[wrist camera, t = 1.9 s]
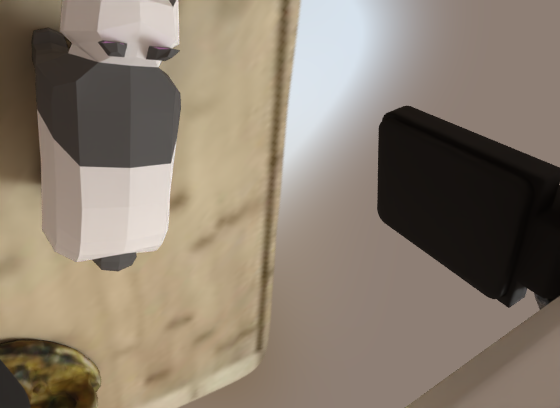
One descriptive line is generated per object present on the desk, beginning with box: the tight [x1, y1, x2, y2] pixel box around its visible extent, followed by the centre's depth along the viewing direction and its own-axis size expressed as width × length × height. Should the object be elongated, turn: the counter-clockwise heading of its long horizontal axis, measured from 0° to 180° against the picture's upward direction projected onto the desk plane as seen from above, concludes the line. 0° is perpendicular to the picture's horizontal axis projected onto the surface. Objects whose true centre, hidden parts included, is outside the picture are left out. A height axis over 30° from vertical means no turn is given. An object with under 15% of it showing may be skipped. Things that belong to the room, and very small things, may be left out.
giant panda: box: [32, 0, 181, 271], centre depth 20 cm, size 15×6×10 cm, turn 167°
